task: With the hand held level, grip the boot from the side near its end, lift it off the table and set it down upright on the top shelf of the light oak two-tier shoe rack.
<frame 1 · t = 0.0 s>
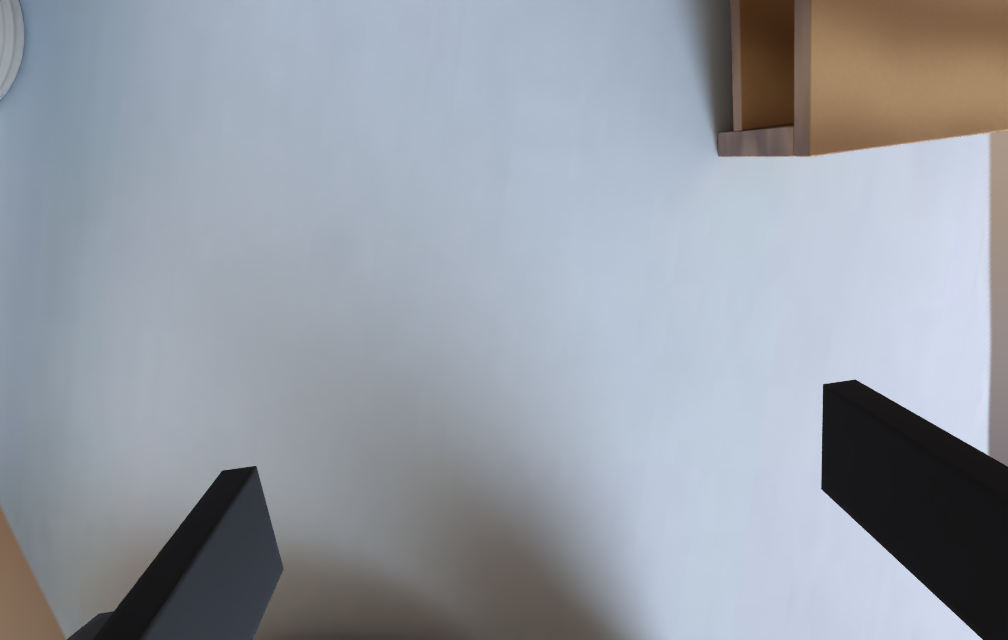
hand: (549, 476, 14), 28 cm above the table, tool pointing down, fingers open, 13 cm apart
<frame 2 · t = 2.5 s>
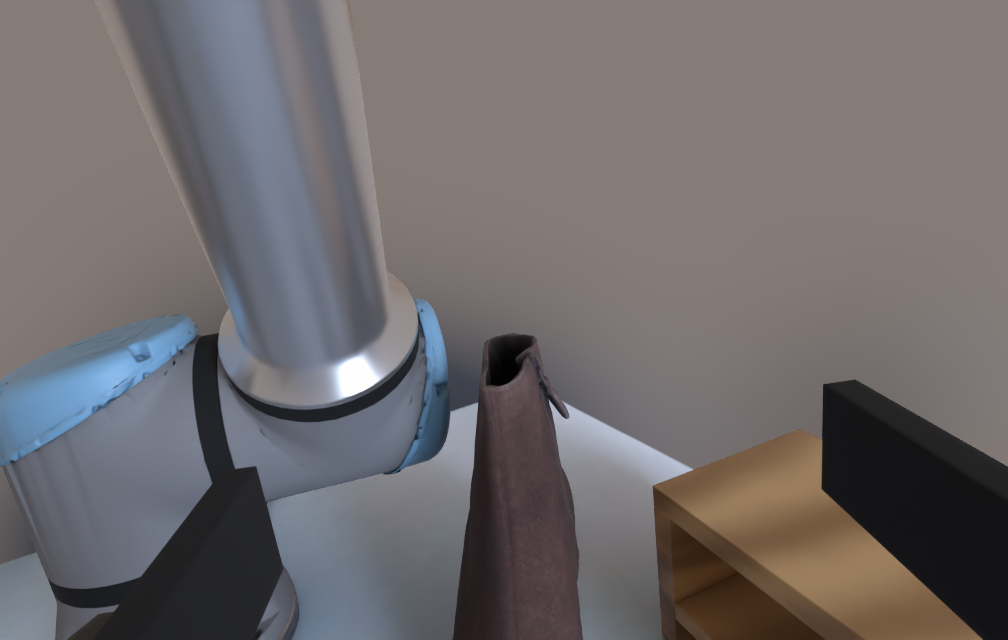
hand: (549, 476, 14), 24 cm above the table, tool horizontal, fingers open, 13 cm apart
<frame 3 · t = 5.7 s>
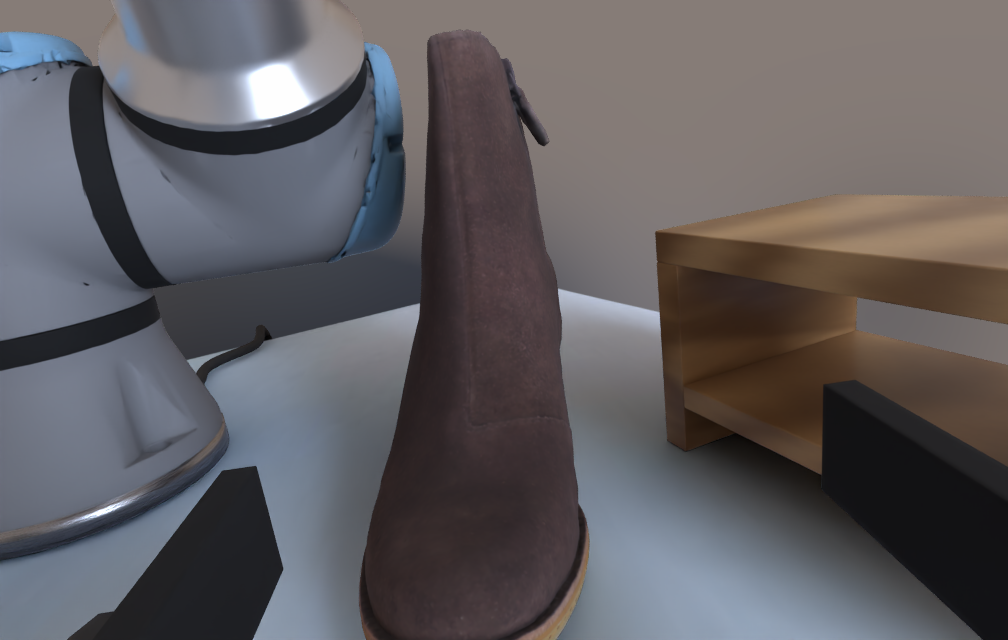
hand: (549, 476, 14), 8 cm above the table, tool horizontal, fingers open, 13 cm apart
boot: (491, 506, 28), on the table
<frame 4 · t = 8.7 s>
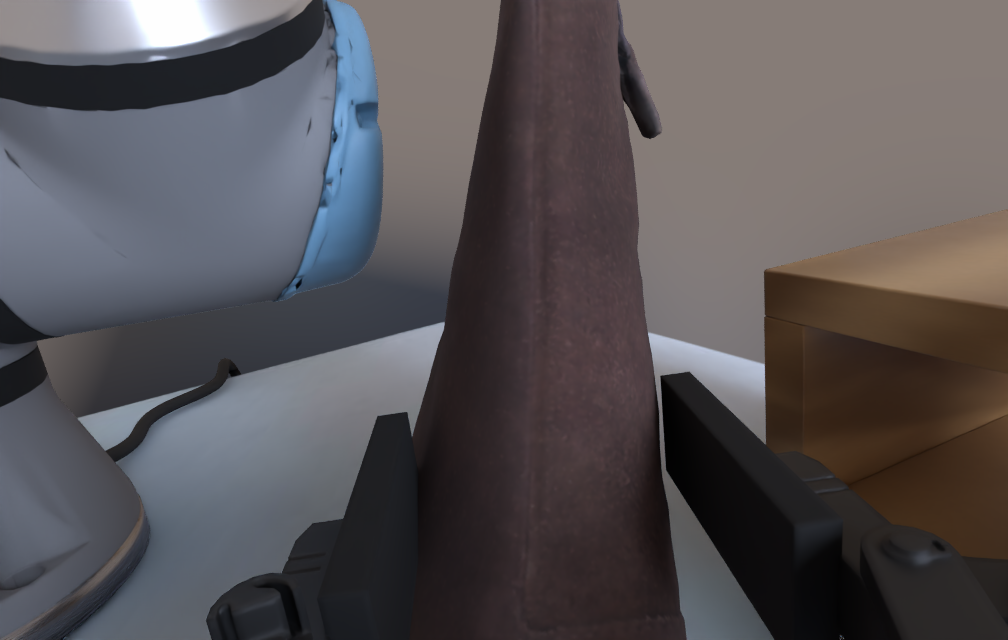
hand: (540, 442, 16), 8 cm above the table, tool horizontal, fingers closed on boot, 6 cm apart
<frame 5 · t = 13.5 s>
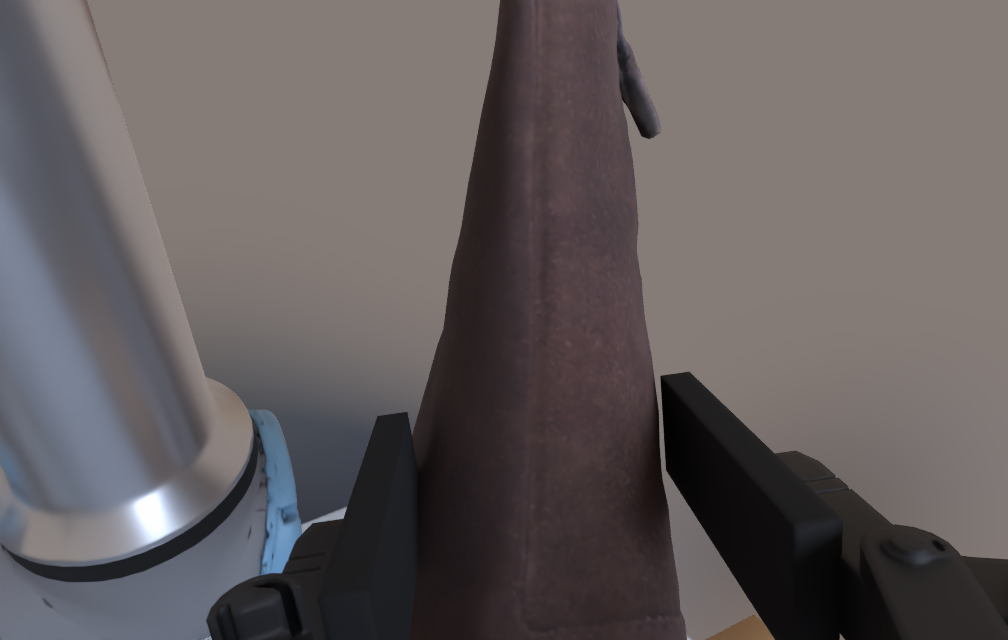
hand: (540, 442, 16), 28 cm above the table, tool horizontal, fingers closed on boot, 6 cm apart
when the fingers open (19 cm above the table, at t = 18.3 s): boot stays where it is, resting on shoe rack.
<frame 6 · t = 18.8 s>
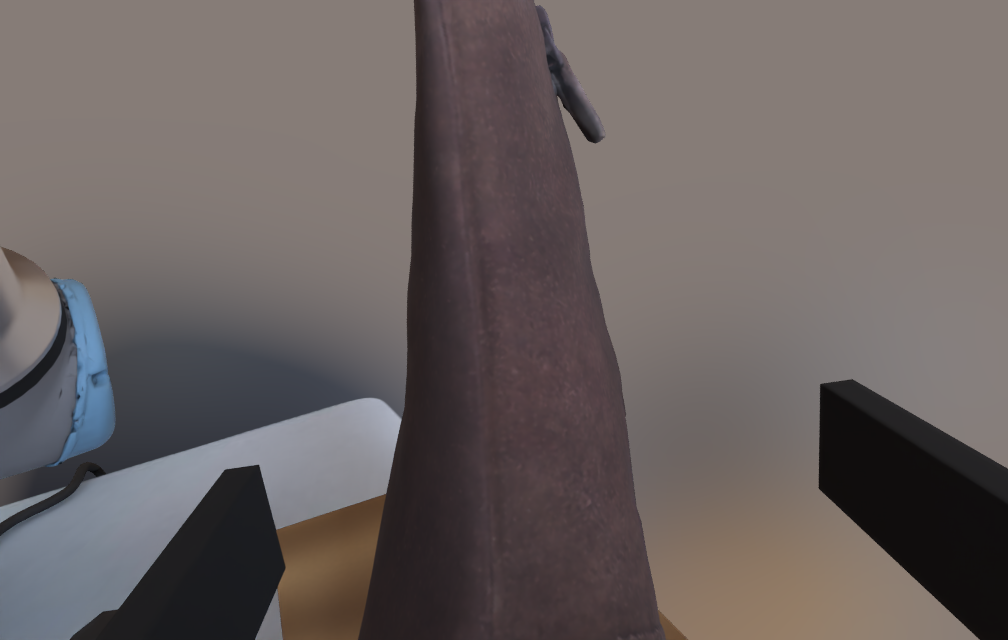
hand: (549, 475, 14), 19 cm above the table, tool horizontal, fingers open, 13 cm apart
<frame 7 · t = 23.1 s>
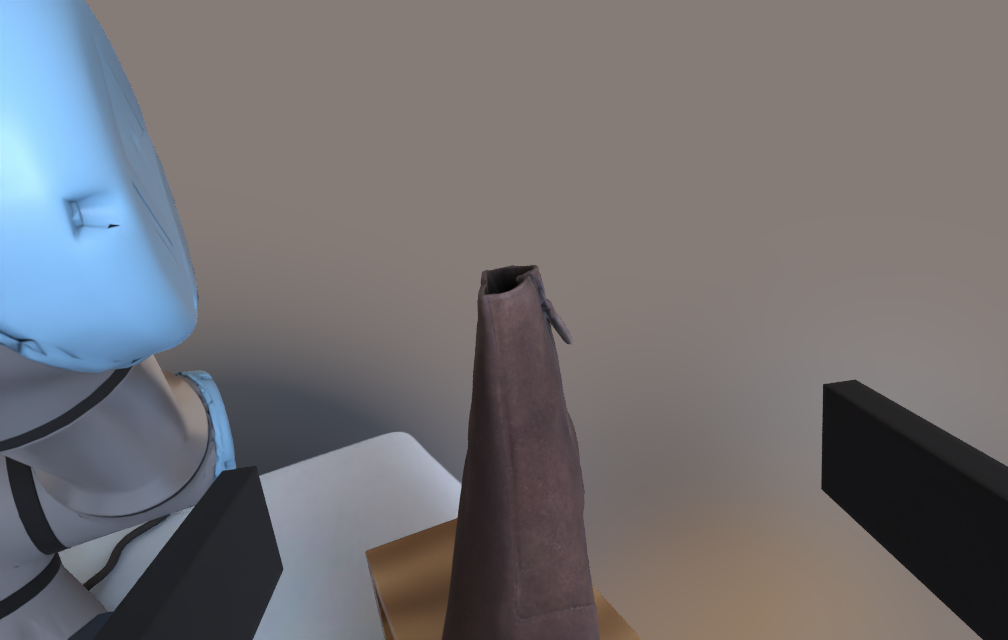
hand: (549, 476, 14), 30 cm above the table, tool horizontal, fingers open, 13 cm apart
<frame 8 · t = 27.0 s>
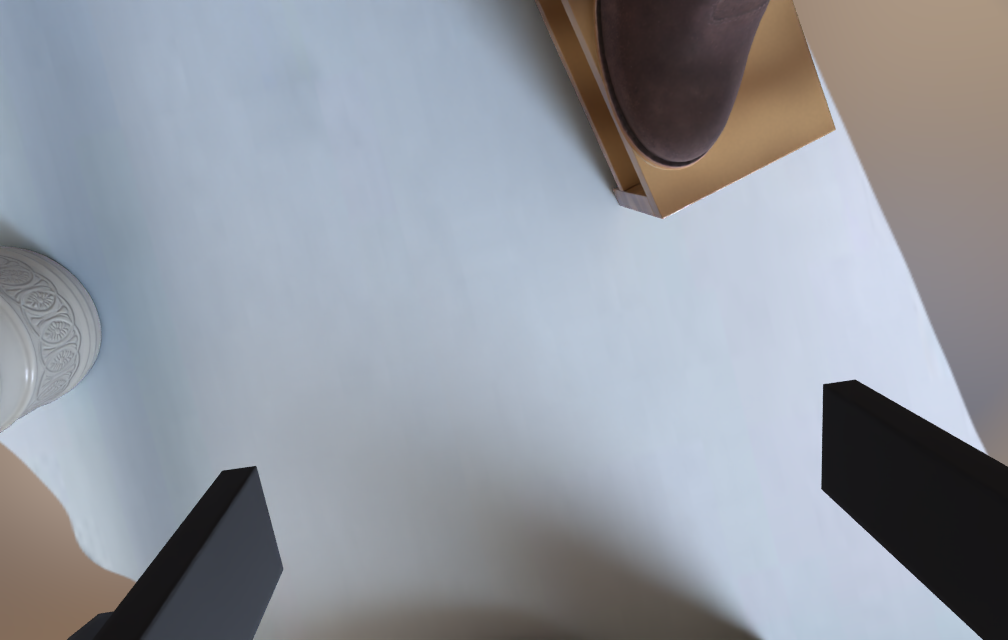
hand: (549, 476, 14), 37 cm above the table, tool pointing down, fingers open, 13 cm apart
jar: (23, 322, 49), on the table
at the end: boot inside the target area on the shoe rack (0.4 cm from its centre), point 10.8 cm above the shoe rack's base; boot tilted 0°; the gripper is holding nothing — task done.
